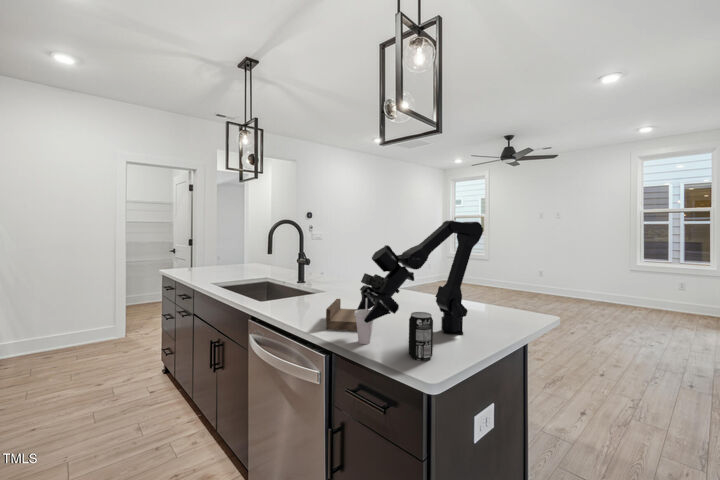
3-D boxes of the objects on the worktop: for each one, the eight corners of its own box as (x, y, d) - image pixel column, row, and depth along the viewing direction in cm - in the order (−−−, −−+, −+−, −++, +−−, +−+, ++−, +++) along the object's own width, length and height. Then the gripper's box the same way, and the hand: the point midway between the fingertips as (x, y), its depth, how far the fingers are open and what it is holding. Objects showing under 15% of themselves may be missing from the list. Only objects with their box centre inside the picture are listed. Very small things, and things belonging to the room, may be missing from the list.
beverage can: (415, 350, 98) (416, 310, 98) (436, 356, 94) (437, 314, 94) (404, 357, 93) (404, 314, 93) (425, 363, 89) (426, 318, 88)
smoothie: (372, 346, 101) (373, 300, 100) (352, 344, 102) (352, 299, 102) (375, 339, 107) (376, 296, 107) (356, 338, 109) (356, 295, 108)
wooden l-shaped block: (371, 317, 134) (371, 300, 133) (365, 331, 116) (365, 311, 116) (336, 315, 136) (336, 298, 135) (326, 329, 118) (326, 309, 117)
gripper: (365, 261, 114) (334, 295, 110) (389, 268, 97) (353, 308, 93) (386, 283, 117) (356, 317, 114) (413, 293, 100) (379, 333, 96)
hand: (360, 318), depth 104 cm, fingers open, 8 cm apart
